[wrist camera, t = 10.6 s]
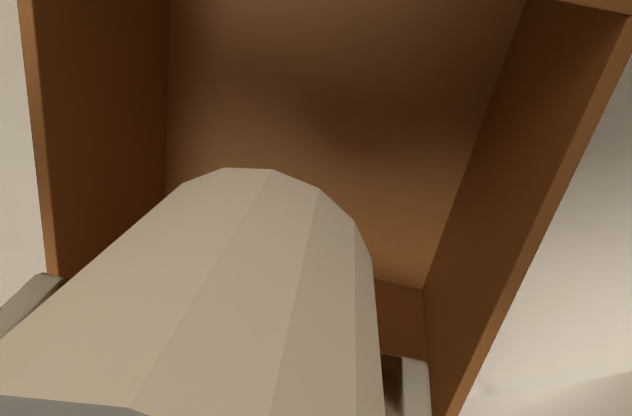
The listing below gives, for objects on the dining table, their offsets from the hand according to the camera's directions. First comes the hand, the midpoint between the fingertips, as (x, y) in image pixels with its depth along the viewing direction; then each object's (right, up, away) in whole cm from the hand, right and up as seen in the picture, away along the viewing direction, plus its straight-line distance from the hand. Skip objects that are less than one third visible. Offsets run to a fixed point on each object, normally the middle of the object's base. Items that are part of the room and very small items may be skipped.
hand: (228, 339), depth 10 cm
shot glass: (0, +1, +2) cm, 3 cm away
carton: (+2, +6, +11) cm, 13 cm away
